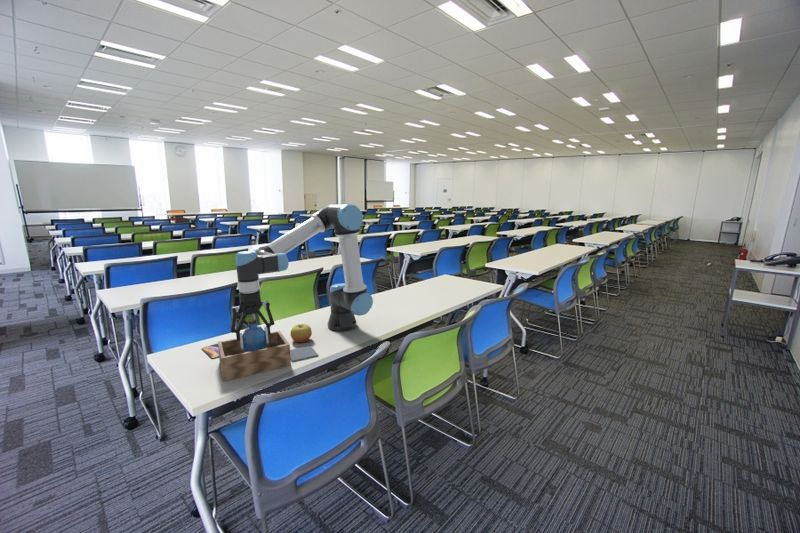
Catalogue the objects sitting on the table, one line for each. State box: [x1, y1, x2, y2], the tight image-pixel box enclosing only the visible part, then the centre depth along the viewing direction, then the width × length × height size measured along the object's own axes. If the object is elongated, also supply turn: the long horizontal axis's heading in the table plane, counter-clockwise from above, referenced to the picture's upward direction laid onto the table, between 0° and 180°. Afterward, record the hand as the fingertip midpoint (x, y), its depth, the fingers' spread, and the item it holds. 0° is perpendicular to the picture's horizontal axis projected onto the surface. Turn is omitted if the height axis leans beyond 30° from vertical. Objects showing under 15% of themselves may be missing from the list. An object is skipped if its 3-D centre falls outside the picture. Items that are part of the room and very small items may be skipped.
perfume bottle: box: [242, 318, 267, 351], centre depth 137 cm, size 6×6×12 cm
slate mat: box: [290, 345, 319, 363], centre depth 148 cm, size 11×11×1 cm
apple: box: [290, 323, 313, 344], centre depth 162 cm, size 10×10×8 cm
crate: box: [217, 330, 292, 382], centre depth 138 cm, size 24×17×9 cm
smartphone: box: [201, 343, 219, 360], centre depth 150 cm, size 8×1×15 cm
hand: (254, 344), depth 138 cm, fingers closed on perfume bottle, 9 cm apart
